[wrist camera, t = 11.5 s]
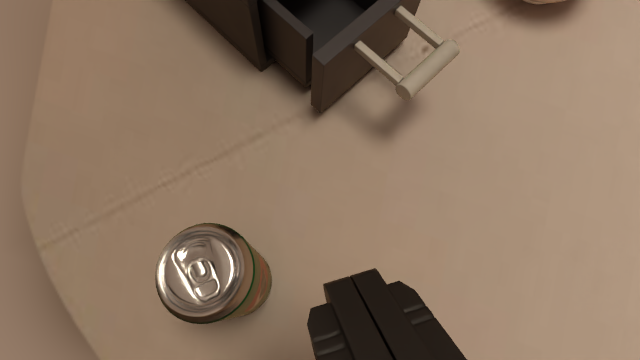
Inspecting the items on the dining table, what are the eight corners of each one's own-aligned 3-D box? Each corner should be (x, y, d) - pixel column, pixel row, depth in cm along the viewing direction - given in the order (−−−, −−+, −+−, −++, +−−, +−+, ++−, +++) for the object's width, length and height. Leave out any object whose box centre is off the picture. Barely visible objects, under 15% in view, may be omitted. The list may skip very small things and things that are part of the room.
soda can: (256, 238, 32) (229, 202, 20) (282, 297, 30) (268, 295, 19) (197, 266, 31) (132, 245, 19) (221, 327, 30) (167, 344, 18)
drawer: (453, 76, 36) (489, 21, 29) (367, 158, 33) (384, 120, 26) (306, -47, 39) (306, -122, 32) (218, 18, 37) (197, -48, 30)
